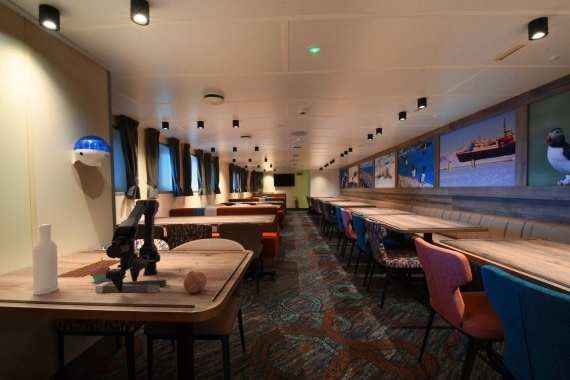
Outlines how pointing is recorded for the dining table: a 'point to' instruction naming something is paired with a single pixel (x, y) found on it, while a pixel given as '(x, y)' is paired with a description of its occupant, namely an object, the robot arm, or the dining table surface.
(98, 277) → the cupcake
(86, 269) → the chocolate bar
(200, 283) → the tan round lump
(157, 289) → the tongs base
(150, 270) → the robot arm
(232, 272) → the dining table surface
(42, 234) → the bottle
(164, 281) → the arm
